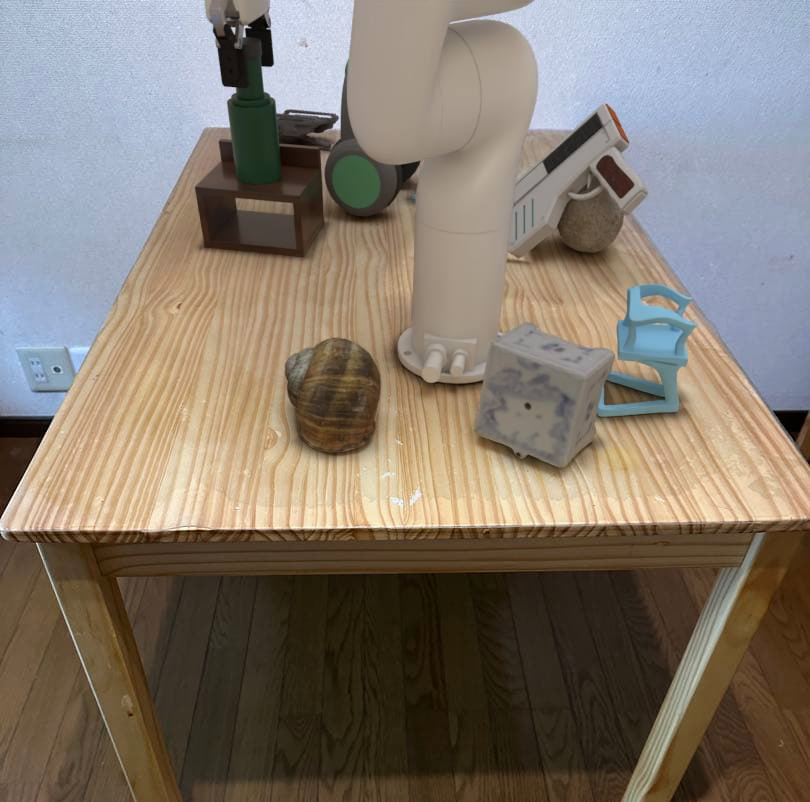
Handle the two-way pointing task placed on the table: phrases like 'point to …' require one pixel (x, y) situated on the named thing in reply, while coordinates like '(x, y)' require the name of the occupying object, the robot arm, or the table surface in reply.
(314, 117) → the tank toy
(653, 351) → the chair
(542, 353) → the incense holder
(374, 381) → the seashell
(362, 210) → the headphones
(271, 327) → the table surface
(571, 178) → the futuristic handgun
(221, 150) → the box
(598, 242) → the decorative stone
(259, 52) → the bottle
